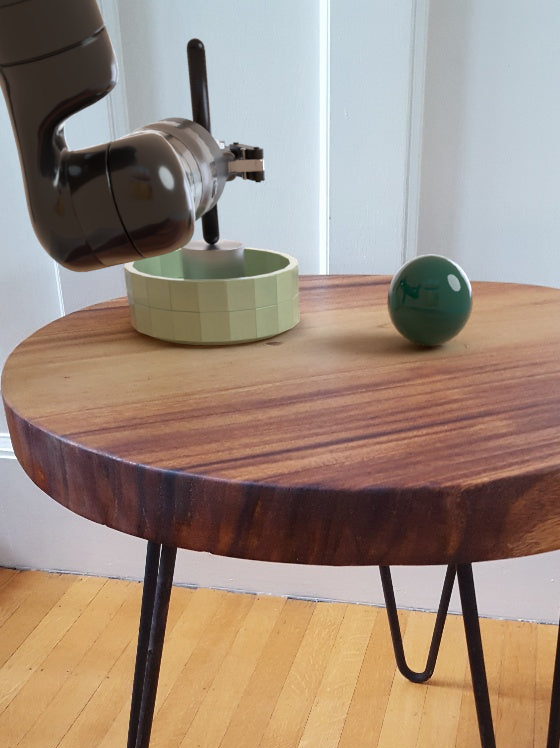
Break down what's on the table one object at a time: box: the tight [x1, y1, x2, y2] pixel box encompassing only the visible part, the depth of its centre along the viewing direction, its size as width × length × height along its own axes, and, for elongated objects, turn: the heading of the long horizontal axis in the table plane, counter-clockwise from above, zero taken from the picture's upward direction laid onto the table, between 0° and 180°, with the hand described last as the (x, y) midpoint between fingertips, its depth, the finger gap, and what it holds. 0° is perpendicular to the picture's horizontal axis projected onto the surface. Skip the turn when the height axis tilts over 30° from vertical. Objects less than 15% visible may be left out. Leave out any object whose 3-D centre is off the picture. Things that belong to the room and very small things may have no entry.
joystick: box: [181, 37, 245, 280], centre depth 88 cm, size 6×6×20 cm
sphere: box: [387, 253, 474, 347], centre depth 89 cm, size 8×8×8 cm
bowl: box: [123, 246, 301, 346], centre depth 94 cm, size 17×17×6 cm
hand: (210, 153), depth 90 cm, fingers closed on joystick
